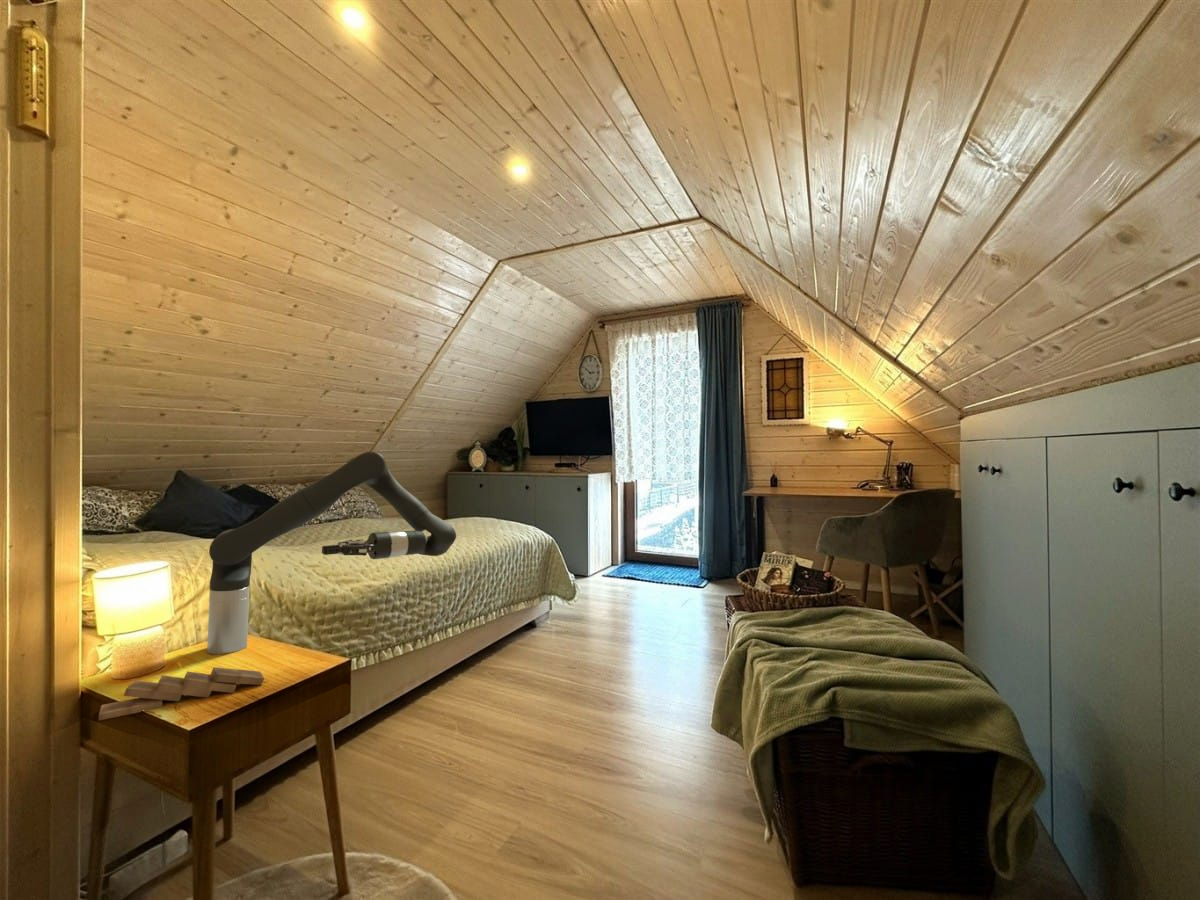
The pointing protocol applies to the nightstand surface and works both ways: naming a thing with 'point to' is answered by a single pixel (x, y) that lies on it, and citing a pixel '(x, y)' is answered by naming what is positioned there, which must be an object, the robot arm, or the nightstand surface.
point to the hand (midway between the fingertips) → (322, 550)
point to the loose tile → (237, 676)
